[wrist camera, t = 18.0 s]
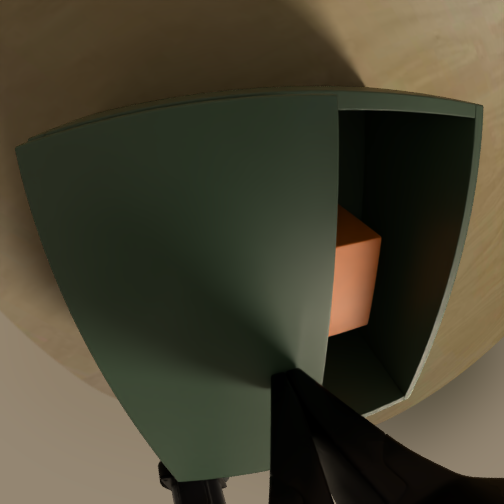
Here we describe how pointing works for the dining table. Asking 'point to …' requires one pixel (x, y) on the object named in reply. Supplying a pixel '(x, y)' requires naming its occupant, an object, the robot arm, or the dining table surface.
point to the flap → (196, 262)
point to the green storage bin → (388, 223)
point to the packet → (353, 273)
